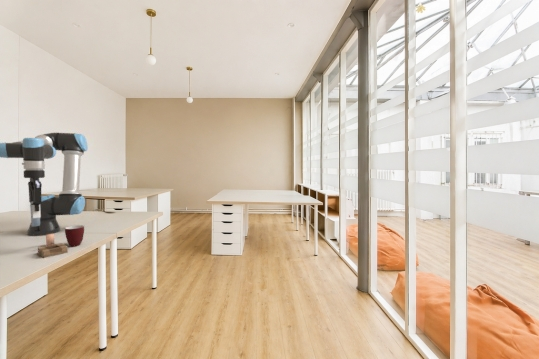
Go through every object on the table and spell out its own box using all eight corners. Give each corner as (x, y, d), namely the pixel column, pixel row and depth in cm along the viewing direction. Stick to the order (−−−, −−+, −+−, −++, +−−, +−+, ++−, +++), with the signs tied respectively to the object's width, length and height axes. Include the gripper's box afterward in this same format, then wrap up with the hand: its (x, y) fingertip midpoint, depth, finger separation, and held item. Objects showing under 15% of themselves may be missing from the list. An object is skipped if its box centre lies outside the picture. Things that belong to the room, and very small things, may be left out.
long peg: (30, 225, 123) (29, 201, 122) (39, 224, 126) (38, 201, 125) (32, 226, 121) (31, 202, 121) (40, 225, 124) (40, 201, 123)
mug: (64, 244, 136) (64, 225, 135) (83, 241, 142) (82, 223, 141) (66, 249, 128) (65, 229, 128) (85, 245, 134) (84, 227, 133)
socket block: (37, 253, 121) (37, 247, 121) (61, 248, 129) (60, 243, 128) (43, 257, 116) (43, 251, 116) (67, 252, 124) (67, 246, 123)
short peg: (45, 245, 133) (45, 234, 132) (53, 244, 136) (52, 233, 135) (47, 246, 131) (47, 235, 131) (55, 245, 134) (54, 234, 133)
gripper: (19, 169, 124) (21, 216, 125) (27, 169, 114) (29, 220, 115) (40, 169, 130) (41, 214, 131) (48, 170, 121) (50, 218, 122)
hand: (35, 217), depth 123 cm, fingers closed on long peg, 3 cm apart
